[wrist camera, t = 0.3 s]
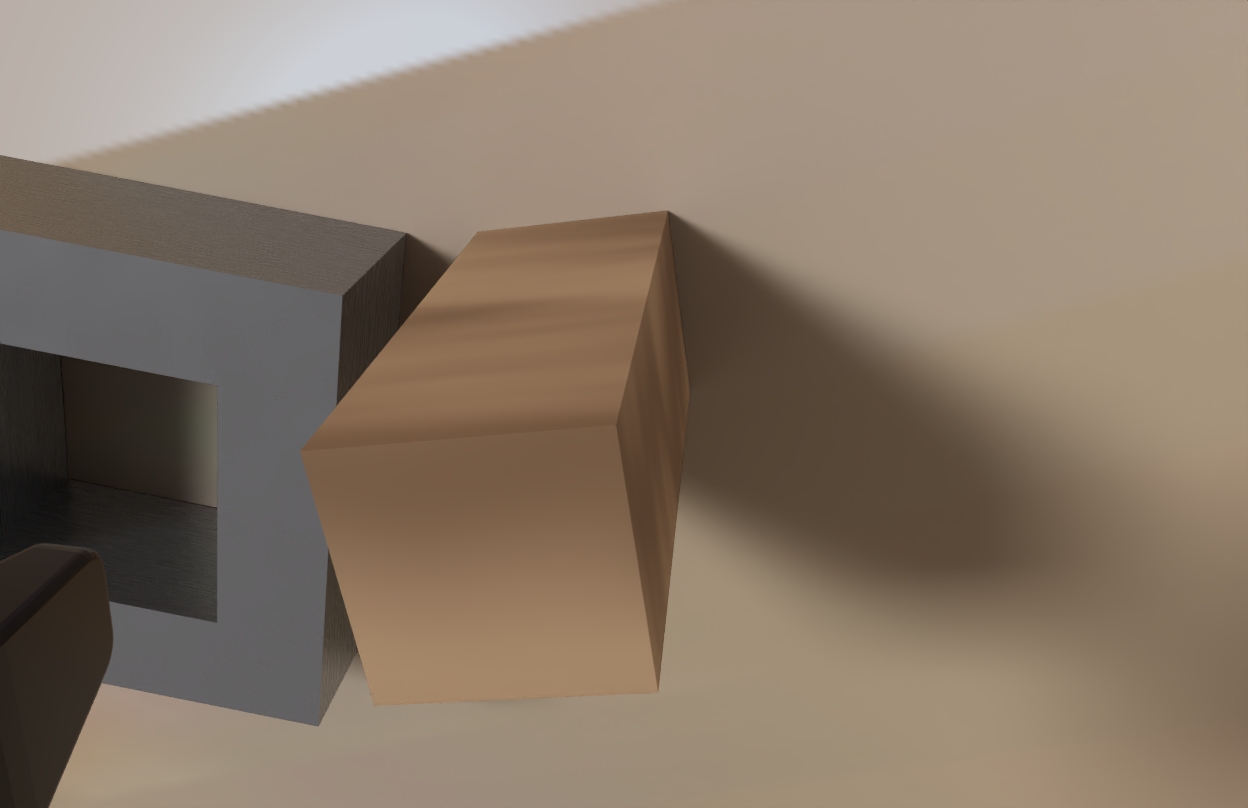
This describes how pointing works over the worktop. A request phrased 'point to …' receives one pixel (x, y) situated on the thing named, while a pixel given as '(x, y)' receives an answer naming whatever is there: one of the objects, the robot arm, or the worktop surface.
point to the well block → (247, 418)
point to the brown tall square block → (515, 471)
